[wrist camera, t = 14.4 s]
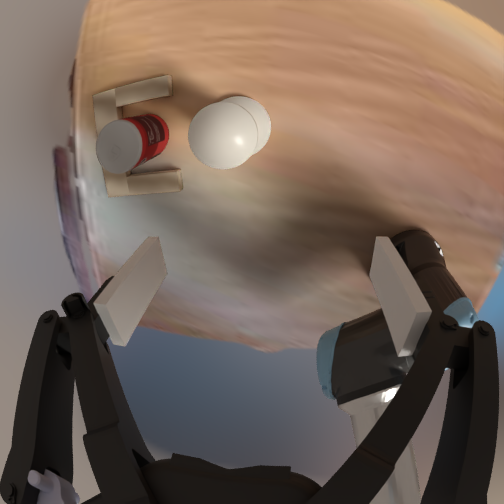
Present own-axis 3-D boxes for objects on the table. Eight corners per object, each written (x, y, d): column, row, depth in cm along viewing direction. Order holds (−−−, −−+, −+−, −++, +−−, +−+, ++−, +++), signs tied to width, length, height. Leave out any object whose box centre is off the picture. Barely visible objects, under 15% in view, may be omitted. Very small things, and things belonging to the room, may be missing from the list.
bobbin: (272, 155, 43) (268, 176, 31) (210, 158, 44) (185, 179, 33) (269, 94, 38) (264, 90, 26) (205, 99, 39) (176, 99, 28)
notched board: (183, 188, 47) (179, 191, 45) (113, 194, 49) (108, 197, 47) (171, 75, 37) (167, 75, 35) (98, 94, 39) (92, 95, 37)
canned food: (126, 150, 44) (91, 165, 35) (138, 108, 40) (101, 114, 31) (162, 163, 45) (132, 181, 35) (176, 120, 41) (146, 127, 31)
